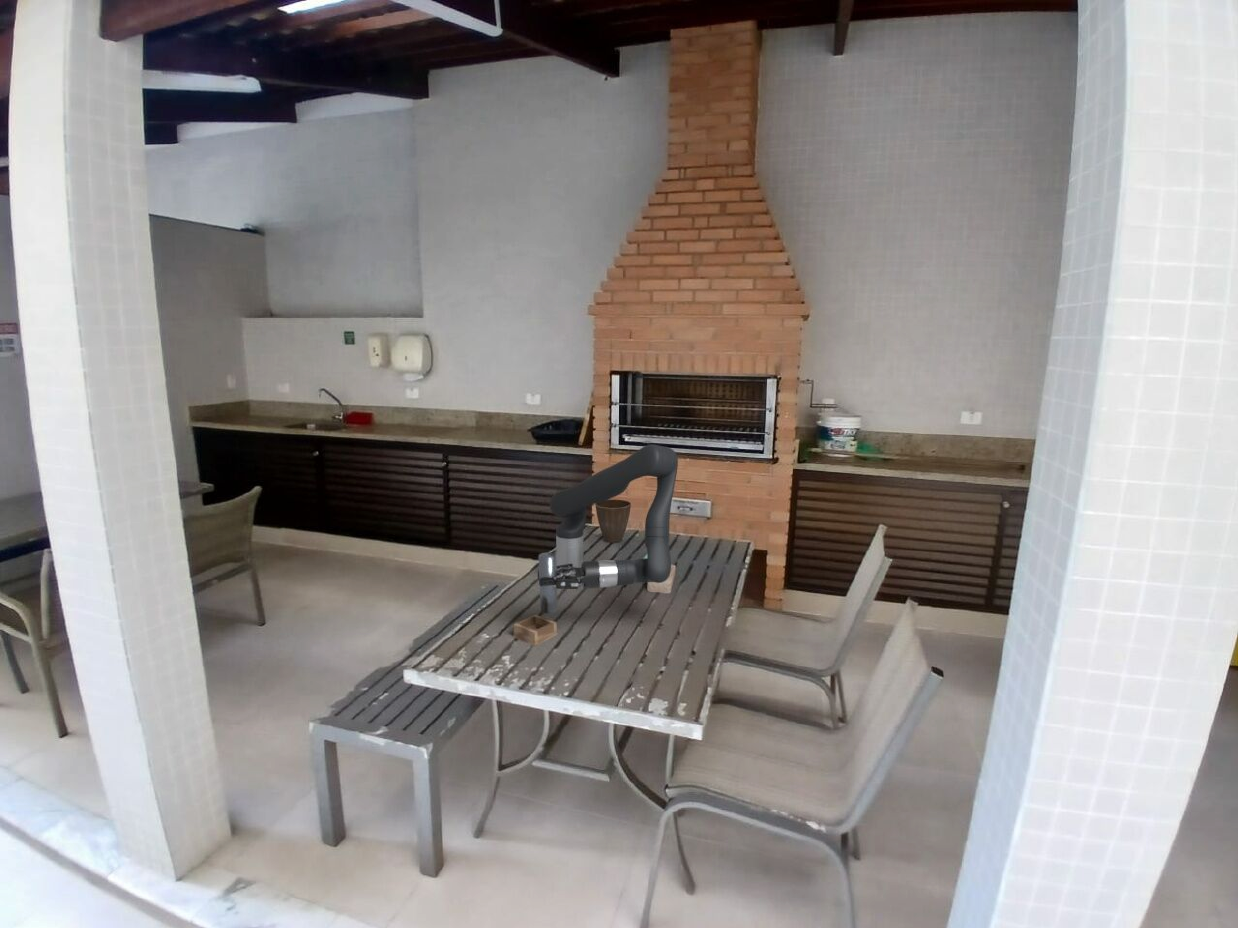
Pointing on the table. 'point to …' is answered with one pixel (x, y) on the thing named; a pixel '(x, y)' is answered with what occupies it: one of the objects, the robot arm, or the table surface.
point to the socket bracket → (535, 630)
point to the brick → (663, 583)
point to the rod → (550, 592)
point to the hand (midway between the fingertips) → (538, 578)
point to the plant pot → (613, 519)
